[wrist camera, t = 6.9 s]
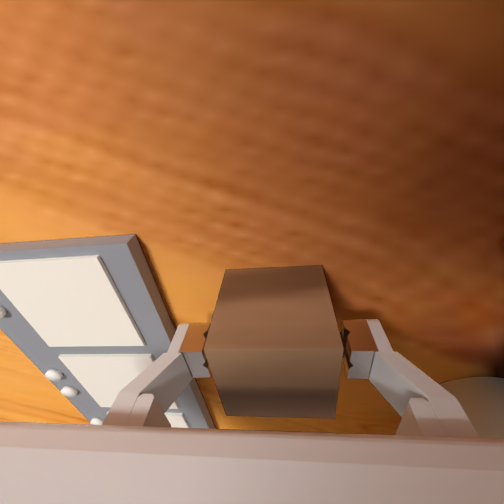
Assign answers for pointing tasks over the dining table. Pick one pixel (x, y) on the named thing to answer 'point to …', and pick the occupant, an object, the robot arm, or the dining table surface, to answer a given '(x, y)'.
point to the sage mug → (481, 403)
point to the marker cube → (275, 343)
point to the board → (90, 320)
